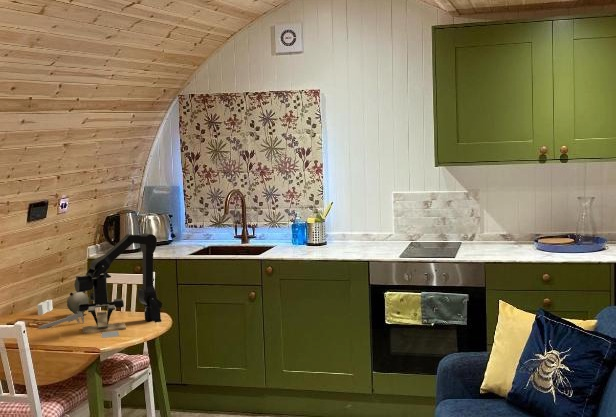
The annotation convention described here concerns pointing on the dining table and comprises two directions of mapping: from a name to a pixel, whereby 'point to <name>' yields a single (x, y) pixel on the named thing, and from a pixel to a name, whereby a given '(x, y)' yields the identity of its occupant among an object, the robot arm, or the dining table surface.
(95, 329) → the oak board
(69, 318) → the caliper
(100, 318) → the block
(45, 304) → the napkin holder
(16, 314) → the dining table surface
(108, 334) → the mat
